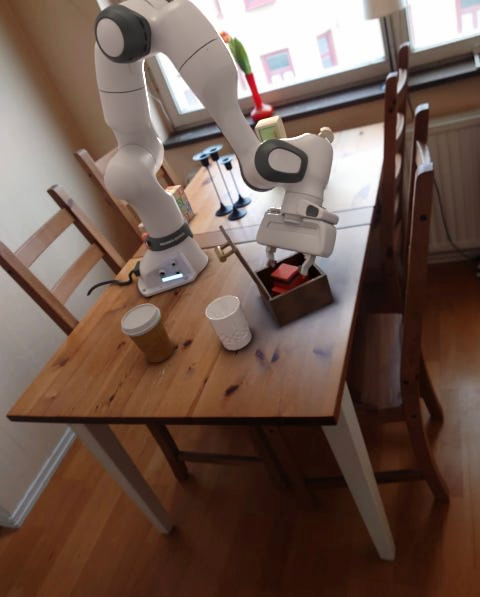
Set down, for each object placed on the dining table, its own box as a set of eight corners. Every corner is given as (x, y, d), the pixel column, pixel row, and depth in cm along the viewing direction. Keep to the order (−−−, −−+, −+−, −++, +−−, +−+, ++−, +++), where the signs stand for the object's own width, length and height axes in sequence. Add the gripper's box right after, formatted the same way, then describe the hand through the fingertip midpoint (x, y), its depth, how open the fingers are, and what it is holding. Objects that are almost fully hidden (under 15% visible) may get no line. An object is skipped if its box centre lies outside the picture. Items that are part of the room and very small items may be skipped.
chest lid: (221, 224, 104) (205, 235, 104) (237, 250, 93) (218, 262, 93) (252, 270, 112) (237, 280, 112) (270, 298, 101) (253, 310, 101)
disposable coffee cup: (138, 352, 116) (115, 316, 109) (172, 333, 118) (151, 296, 111) (147, 374, 108) (123, 336, 102) (184, 353, 110) (162, 315, 103)
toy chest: (311, 274, 117) (303, 248, 113) (334, 302, 106) (326, 274, 102) (261, 297, 117) (251, 272, 112) (279, 327, 106) (269, 301, 101)
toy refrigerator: (272, 185, 167) (253, 128, 155) (276, 176, 172) (258, 120, 161) (293, 181, 164) (276, 122, 152) (297, 171, 169) (281, 114, 157)
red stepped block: (293, 310, 107) (283, 282, 103) (276, 304, 111) (266, 278, 107) (313, 289, 111) (305, 261, 107) (296, 284, 115) (287, 258, 110)
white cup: (235, 325, 112) (220, 292, 106) (260, 332, 107) (246, 298, 101) (214, 347, 108) (198, 315, 102) (240, 356, 103) (224, 322, 97)
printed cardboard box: (163, 249, 156) (146, 217, 150) (149, 249, 160) (132, 218, 153) (195, 214, 170) (181, 184, 163) (181, 215, 173) (167, 185, 166)
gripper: (258, 202, 110) (244, 260, 112) (329, 211, 96) (312, 277, 97) (275, 209, 115) (262, 264, 116) (345, 218, 101) (329, 281, 102)
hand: (285, 270), depth 107 cm, fingers open, 8 cm apart
